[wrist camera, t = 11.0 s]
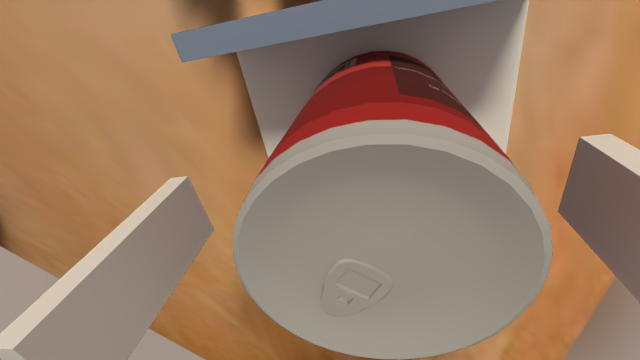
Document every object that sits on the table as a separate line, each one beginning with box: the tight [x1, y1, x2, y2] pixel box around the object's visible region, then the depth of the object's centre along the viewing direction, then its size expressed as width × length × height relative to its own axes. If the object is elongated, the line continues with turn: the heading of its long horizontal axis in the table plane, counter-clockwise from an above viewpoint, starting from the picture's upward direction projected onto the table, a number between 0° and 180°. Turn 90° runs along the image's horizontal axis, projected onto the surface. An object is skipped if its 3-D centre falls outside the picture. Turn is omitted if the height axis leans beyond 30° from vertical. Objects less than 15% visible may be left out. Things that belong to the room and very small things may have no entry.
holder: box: [171, 0, 529, 158], centre depth 15 cm, size 14×12×6 cm
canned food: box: [233, 51, 553, 359], centre depth 12 cm, size 8×8×11 cm
